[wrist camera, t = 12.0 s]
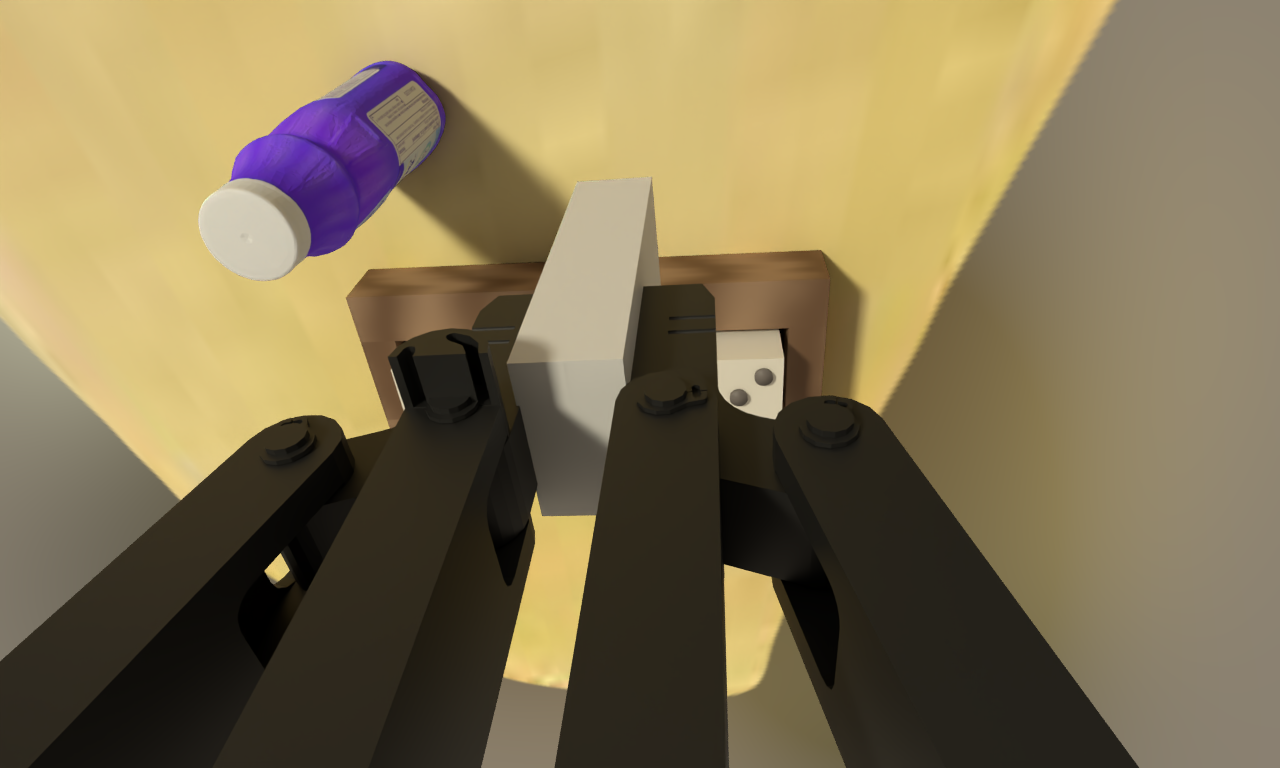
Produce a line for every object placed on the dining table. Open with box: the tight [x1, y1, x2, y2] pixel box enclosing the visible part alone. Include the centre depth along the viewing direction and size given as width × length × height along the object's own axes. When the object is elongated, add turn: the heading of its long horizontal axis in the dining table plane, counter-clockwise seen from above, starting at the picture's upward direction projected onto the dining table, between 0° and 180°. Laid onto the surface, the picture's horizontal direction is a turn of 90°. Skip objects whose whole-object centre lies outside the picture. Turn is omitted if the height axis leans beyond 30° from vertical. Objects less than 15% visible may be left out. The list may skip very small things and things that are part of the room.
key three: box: [716, 328, 784, 419], centre depth 48 cm, size 5×6×6 cm
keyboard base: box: [346, 250, 830, 428], centre depth 51 cm, size 30×13×4 cm, turn 94°
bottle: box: [198, 61, 446, 281], centre depth 37 cm, size 7×6×17 cm
